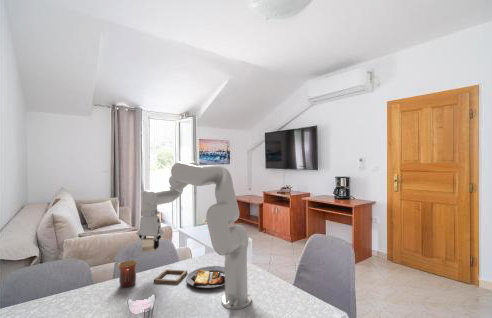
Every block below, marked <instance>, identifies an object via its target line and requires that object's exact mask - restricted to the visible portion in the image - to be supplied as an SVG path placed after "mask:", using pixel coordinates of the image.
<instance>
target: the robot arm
mask: <svg viewBox="0 0 492 318" xmlns="http://www.w3.org/2000/svg"><path fill="white" fill-rule="evenodd" d="M168 183H169V185H170V186H169V187H168V188H164V189H163V188H162V189H144V190H142V191H141V216H140V221H139V229H138V230H137V231H136V235H137V237H139V239H140V241H141V242H142V240H143V239H145V238H147V237H154V239H155V241H154V249H156V248H158V247H160V239H162V237H163V236H164V234H165V232H164V231H163V230H162V225H161V218H160V215H159V214H160V210H158V206H160V205H164V204H170V203H172V202H174V201H176V200H177V199H178V198H179V197H180V196H181V195H182V194H183V191H184V188H186V187H187V186H188V185H192V186H196V187H201V186H202V187H203V186H210V185H215V186H214V196H215V200H216V203H213V204H211V205H210V206H209V207H208V208H207V211H206V224H207V225H206V226H207V229H208V233H209V237H210V238H209V239H210V242H211V246H212V248H213V250H214V252H215V253H216V254H217V255H219V256H223V257H224V265H223V267H225V286H224V294H223V296H222V297H221V299H220V300H221V304H222V305H223V306H224V308H226V309H227V310H228V309H231V310H239V309H241V310H242V309H244V308H246V307H248V306H249V305H251V303H252V296H251V294H249V292H248V248H249V247H248V246H249V239H250V238H249V233H248V230H247V229H246V228H245V226H244V225H241V224H233V225H231V226H229V224H232V223H234V222H236V221H238V219H239V217H240V209H239V204H238V201H237V196H236V193H235V187H234V184H233V178H232V174H231V173H230V171H229V170H228V169H227V168H226V167H224V166H222V165H216V164H215V165H211V164H210V165H200V164H199V162H196V161H192V160H191V161H190V160H186V161H184V160H181V161H177V162H174V164H173V165H172V166H171V168H170V177H169V178H168ZM158 249H159V248H158Z"/></svg>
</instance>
